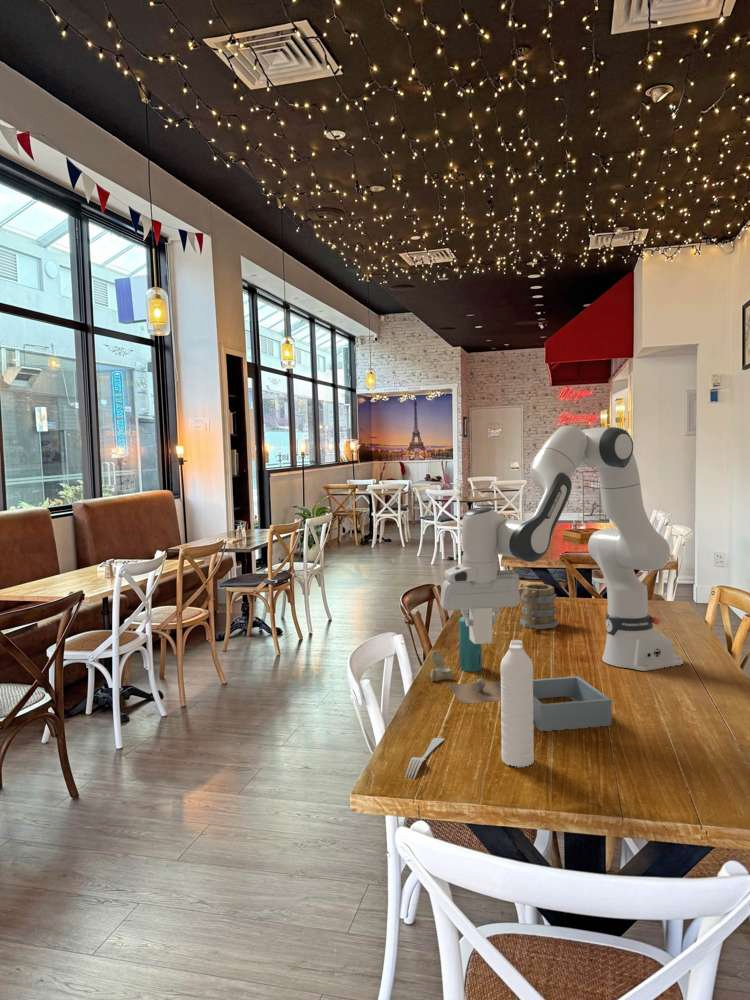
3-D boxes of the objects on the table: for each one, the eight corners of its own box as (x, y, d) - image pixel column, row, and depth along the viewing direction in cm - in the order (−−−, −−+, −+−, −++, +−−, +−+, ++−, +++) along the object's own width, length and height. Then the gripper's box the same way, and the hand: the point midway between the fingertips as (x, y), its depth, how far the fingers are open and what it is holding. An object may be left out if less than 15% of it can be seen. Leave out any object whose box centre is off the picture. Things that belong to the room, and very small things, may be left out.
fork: (446, 750, 151) (446, 737, 151) (415, 782, 131) (415, 768, 132) (434, 748, 152) (434, 736, 152) (401, 780, 132) (401, 766, 133)
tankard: (529, 618, 255) (529, 579, 254) (562, 623, 247) (562, 582, 246) (506, 631, 239) (506, 588, 238) (541, 636, 231) (540, 592, 230)
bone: (451, 684, 180) (434, 650, 183) (432, 694, 183) (415, 660, 185) (462, 677, 188) (445, 644, 190) (444, 686, 191) (427, 654, 193)
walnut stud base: (498, 686, 183) (497, 668, 182) (516, 705, 169) (516, 685, 169) (447, 690, 181) (447, 672, 180) (462, 709, 167) (461, 690, 167)
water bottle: (502, 752, 143) (500, 635, 141) (534, 755, 141) (533, 636, 139) (500, 771, 134) (498, 647, 133) (533, 774, 133) (532, 649, 131)
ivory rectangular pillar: (486, 638, 176) (486, 603, 176) (492, 642, 172) (492, 607, 171) (469, 639, 176) (469, 604, 175) (474, 644, 171) (474, 608, 171)
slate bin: (578, 699, 172) (578, 676, 172) (611, 725, 155) (611, 699, 155) (513, 704, 169) (513, 681, 169) (540, 732, 153) (540, 705, 152)
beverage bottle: (481, 677, 190) (480, 607, 189) (458, 676, 192) (456, 606, 190) (482, 670, 197) (481, 602, 195) (459, 669, 198) (458, 601, 196)
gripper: (514, 567, 177) (515, 619, 178) (438, 571, 174) (439, 624, 175) (523, 571, 171) (524, 625, 172) (444, 575, 168) (445, 630, 169)
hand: (480, 625), depth 173 cm, fingers closed on ivory rectangular pillar, 5 cm apart
